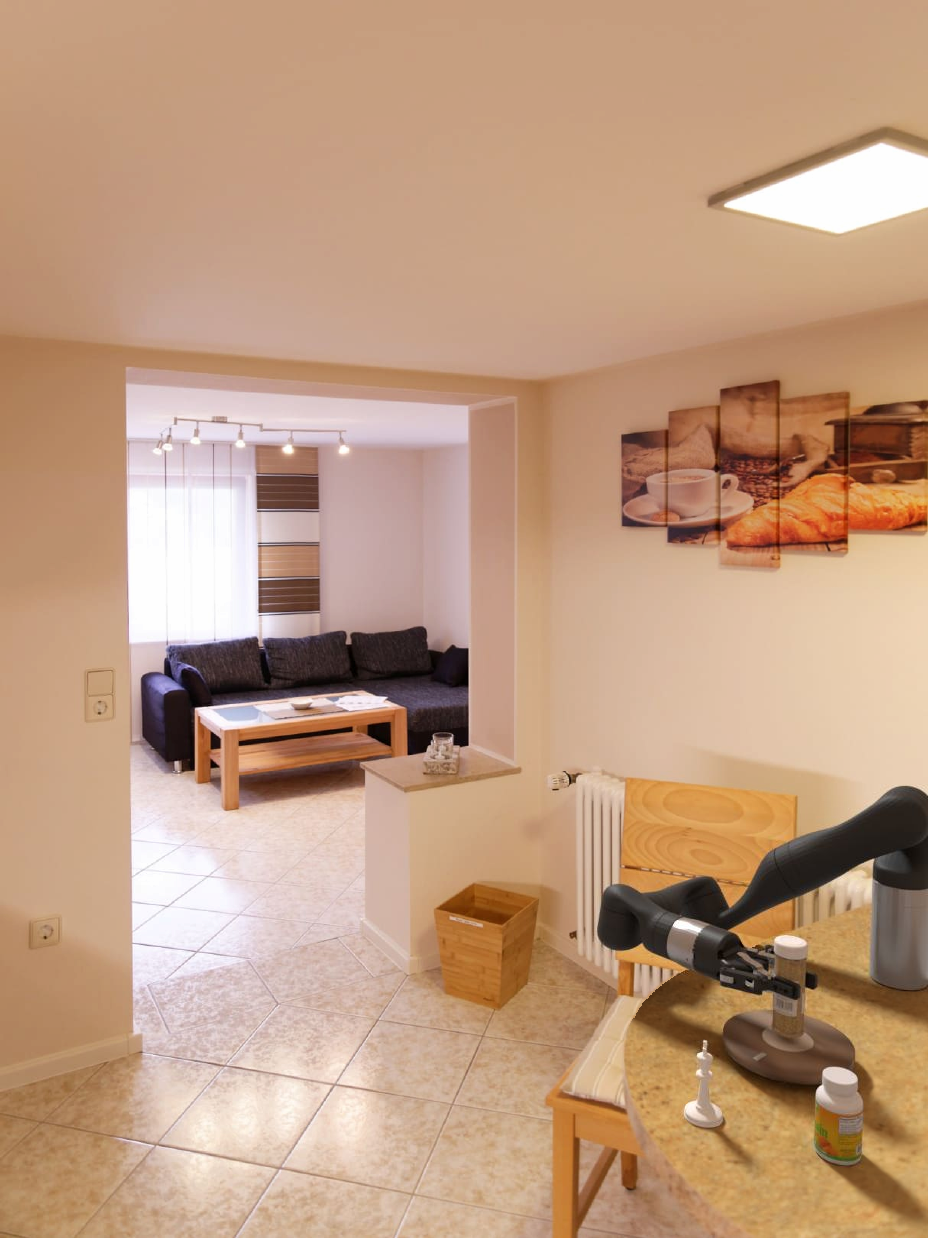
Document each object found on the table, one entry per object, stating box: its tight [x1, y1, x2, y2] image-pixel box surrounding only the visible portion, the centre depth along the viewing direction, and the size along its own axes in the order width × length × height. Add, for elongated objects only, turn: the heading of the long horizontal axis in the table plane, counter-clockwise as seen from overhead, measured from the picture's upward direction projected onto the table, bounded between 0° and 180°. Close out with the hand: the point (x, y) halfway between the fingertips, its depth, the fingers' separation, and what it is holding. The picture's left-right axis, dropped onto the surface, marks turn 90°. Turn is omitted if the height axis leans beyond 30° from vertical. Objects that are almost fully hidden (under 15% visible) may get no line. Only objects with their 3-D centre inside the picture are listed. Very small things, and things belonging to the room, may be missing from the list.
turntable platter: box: [722, 1009, 856, 1086], centre depth 134 cm, size 18×18×2 cm
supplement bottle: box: [813, 1067, 864, 1166], centre depth 113 cm, size 5×5×10 cm
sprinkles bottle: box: [771, 934, 809, 1038], centre depth 133 cm, size 5×5×13 cm
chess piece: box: [683, 1039, 724, 1129], centre depth 120 cm, size 5×5×10 cm
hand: (807, 987), depth 131 cm, fingers closed on sprinkles bottle, 4 cm apart
